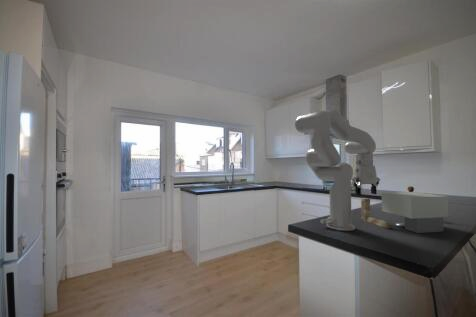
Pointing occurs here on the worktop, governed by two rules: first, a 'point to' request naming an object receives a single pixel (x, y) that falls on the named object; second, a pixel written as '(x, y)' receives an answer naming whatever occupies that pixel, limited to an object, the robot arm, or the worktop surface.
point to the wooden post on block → (366, 214)
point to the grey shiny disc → (400, 224)
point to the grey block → (417, 210)
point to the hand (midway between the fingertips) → (366, 194)
